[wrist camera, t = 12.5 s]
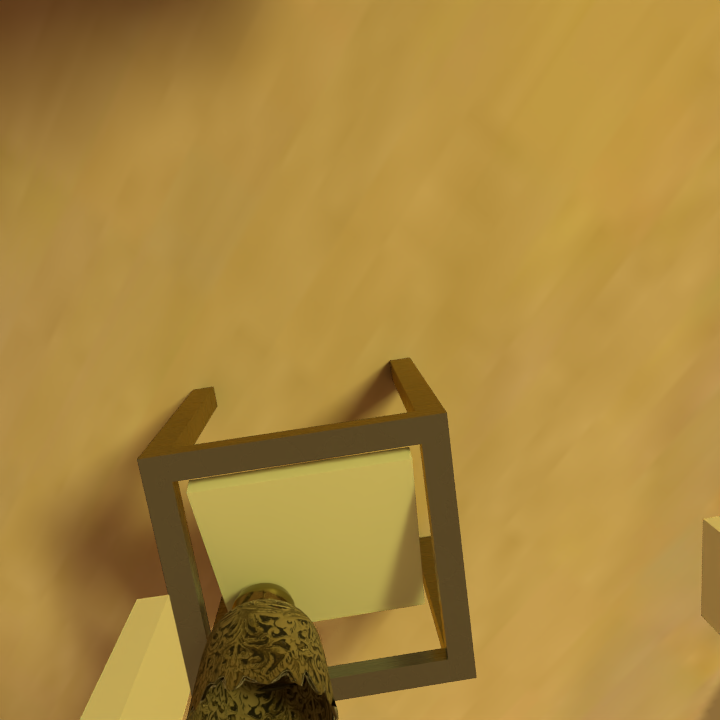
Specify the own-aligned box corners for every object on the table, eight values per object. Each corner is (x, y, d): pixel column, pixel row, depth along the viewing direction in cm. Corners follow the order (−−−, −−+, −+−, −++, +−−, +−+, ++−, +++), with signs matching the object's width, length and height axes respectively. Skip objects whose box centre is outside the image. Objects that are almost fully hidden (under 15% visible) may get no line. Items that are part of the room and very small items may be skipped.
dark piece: (252, 655, 39) (249, 792, 32) (173, 596, 36) (150, 734, 29) (349, 601, 38) (366, 731, 31) (276, 534, 34) (278, 663, 28)
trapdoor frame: (193, 389, 45) (136, 459, 32) (409, 357, 46) (446, 412, 32) (233, 584, 49) (197, 723, 35) (433, 552, 49) (476, 677, 36)
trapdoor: (189, 480, 33) (186, 493, 32) (408, 446, 33) (412, 458, 32) (237, 620, 39) (235, 634, 38) (421, 590, 40) (424, 604, 39)
